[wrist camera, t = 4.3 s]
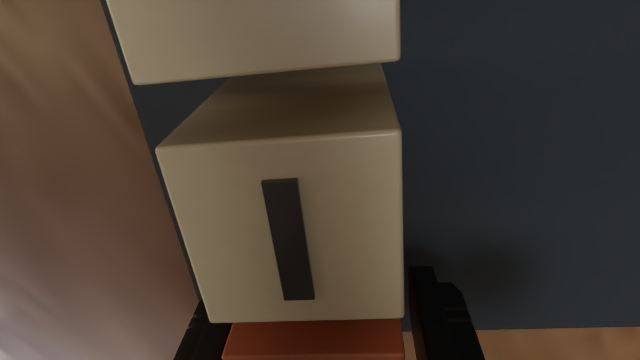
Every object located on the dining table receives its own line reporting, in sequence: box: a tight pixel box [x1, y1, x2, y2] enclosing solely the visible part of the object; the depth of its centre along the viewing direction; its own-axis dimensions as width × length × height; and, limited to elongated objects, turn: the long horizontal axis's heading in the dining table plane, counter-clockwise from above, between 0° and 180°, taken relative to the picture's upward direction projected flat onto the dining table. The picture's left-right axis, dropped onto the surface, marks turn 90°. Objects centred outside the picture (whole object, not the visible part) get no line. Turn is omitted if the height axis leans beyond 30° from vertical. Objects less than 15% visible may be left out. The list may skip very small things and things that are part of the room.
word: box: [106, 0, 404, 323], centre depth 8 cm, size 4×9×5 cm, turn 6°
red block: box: [222, 318, 405, 360], centre depth 12 cm, size 4×4×5 cm
